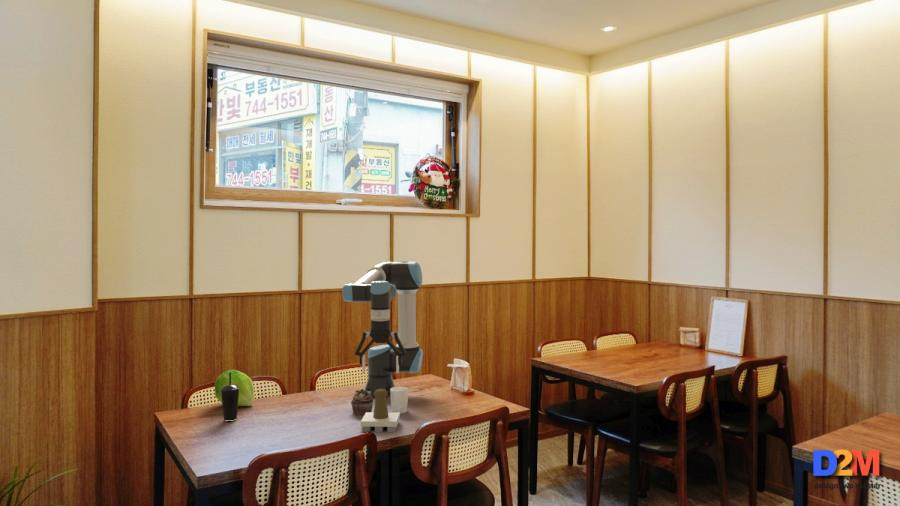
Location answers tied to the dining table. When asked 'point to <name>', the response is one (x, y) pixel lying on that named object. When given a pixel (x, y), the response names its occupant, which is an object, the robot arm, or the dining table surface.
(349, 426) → the dining table surface
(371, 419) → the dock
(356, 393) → the cupcake
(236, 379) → the lettuce
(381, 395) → the cork
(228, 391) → the drinking cup
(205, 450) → the dining table surface
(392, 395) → the white cup
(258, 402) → the dining table surface
